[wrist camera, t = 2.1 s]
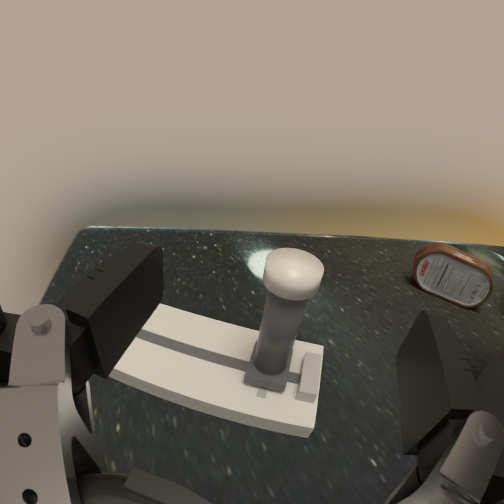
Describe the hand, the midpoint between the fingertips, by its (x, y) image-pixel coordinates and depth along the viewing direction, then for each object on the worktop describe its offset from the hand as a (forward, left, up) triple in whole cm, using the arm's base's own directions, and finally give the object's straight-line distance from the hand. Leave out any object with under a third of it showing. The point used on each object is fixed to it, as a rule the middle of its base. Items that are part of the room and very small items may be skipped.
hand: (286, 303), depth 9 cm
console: (-5, -13, -20) cm, 24 cm away
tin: (-43, +3, -20) cm, 48 cm away
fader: (-9, -6, -17) cm, 20 cm away
